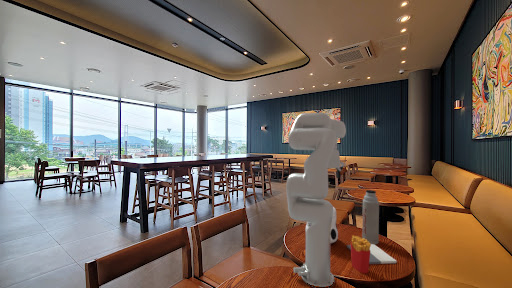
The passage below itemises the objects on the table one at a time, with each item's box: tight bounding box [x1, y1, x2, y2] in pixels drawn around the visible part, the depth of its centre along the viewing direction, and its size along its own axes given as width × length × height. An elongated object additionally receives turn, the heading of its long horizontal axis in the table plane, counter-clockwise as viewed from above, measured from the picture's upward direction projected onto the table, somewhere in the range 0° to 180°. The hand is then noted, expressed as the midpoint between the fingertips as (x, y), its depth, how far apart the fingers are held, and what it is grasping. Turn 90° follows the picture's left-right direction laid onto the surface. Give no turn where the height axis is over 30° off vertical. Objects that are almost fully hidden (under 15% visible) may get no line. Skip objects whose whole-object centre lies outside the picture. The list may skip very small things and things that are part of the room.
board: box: [346, 244, 397, 265], centre depth 103 cm, size 15×16×1 cm
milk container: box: [305, 206, 339, 245], centre depth 118 cm, size 17×17×18 cm
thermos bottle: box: [361, 189, 380, 245], centre depth 118 cm, size 8×8×28 cm
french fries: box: [350, 235, 371, 274], centre depth 91 cm, size 9×4×13 cm, turn 21°
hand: (329, 178), depth 118 cm, fingers open, 9 cm apart
